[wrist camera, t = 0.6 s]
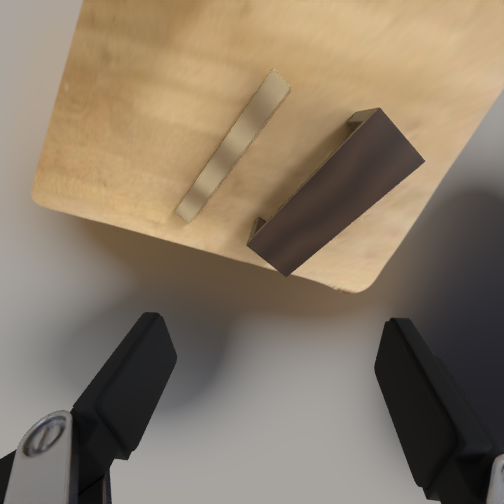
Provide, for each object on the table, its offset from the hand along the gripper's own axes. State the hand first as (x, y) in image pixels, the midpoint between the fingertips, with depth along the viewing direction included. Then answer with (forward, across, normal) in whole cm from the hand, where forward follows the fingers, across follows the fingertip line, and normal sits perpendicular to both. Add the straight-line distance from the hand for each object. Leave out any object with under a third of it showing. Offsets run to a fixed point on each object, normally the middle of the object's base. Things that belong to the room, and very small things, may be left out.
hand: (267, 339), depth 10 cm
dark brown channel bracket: (+31, -6, +2) cm, 32 cm away
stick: (+31, +8, -5) cm, 33 cm away
